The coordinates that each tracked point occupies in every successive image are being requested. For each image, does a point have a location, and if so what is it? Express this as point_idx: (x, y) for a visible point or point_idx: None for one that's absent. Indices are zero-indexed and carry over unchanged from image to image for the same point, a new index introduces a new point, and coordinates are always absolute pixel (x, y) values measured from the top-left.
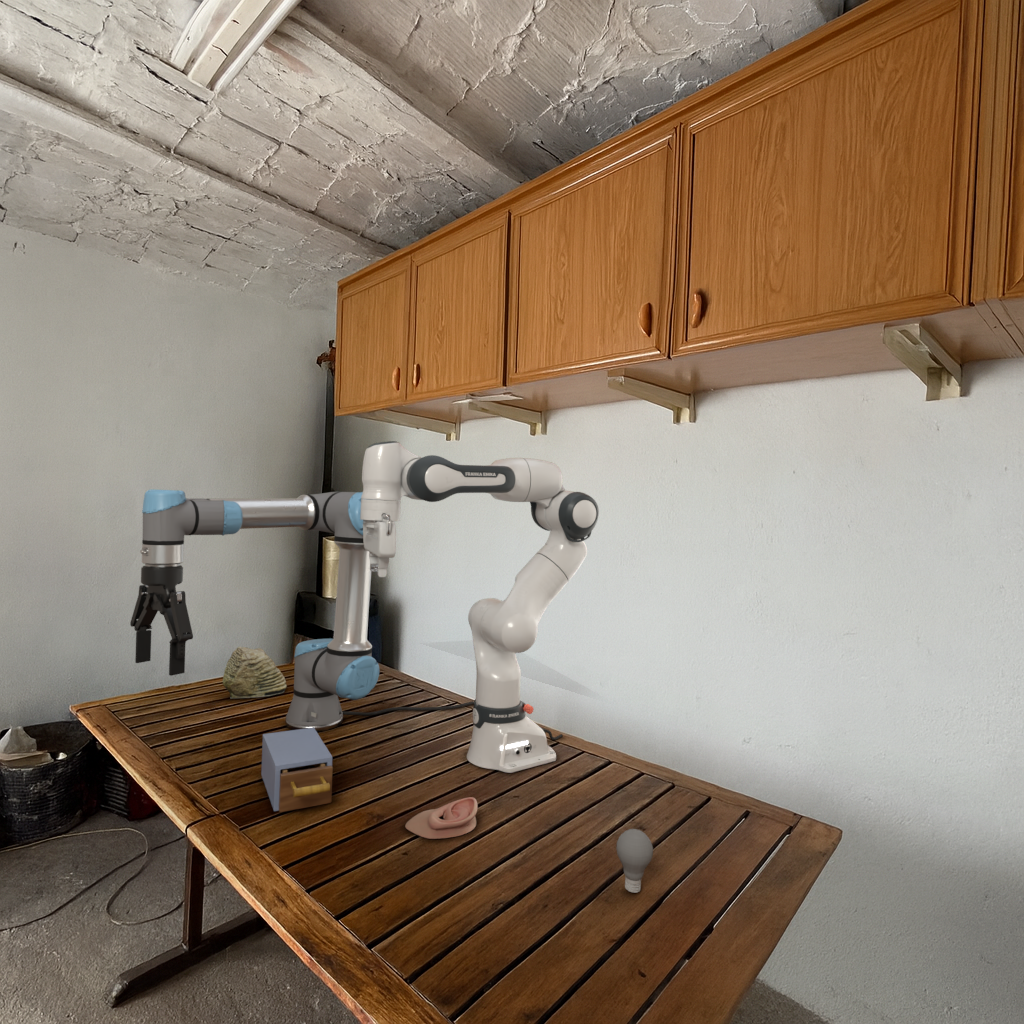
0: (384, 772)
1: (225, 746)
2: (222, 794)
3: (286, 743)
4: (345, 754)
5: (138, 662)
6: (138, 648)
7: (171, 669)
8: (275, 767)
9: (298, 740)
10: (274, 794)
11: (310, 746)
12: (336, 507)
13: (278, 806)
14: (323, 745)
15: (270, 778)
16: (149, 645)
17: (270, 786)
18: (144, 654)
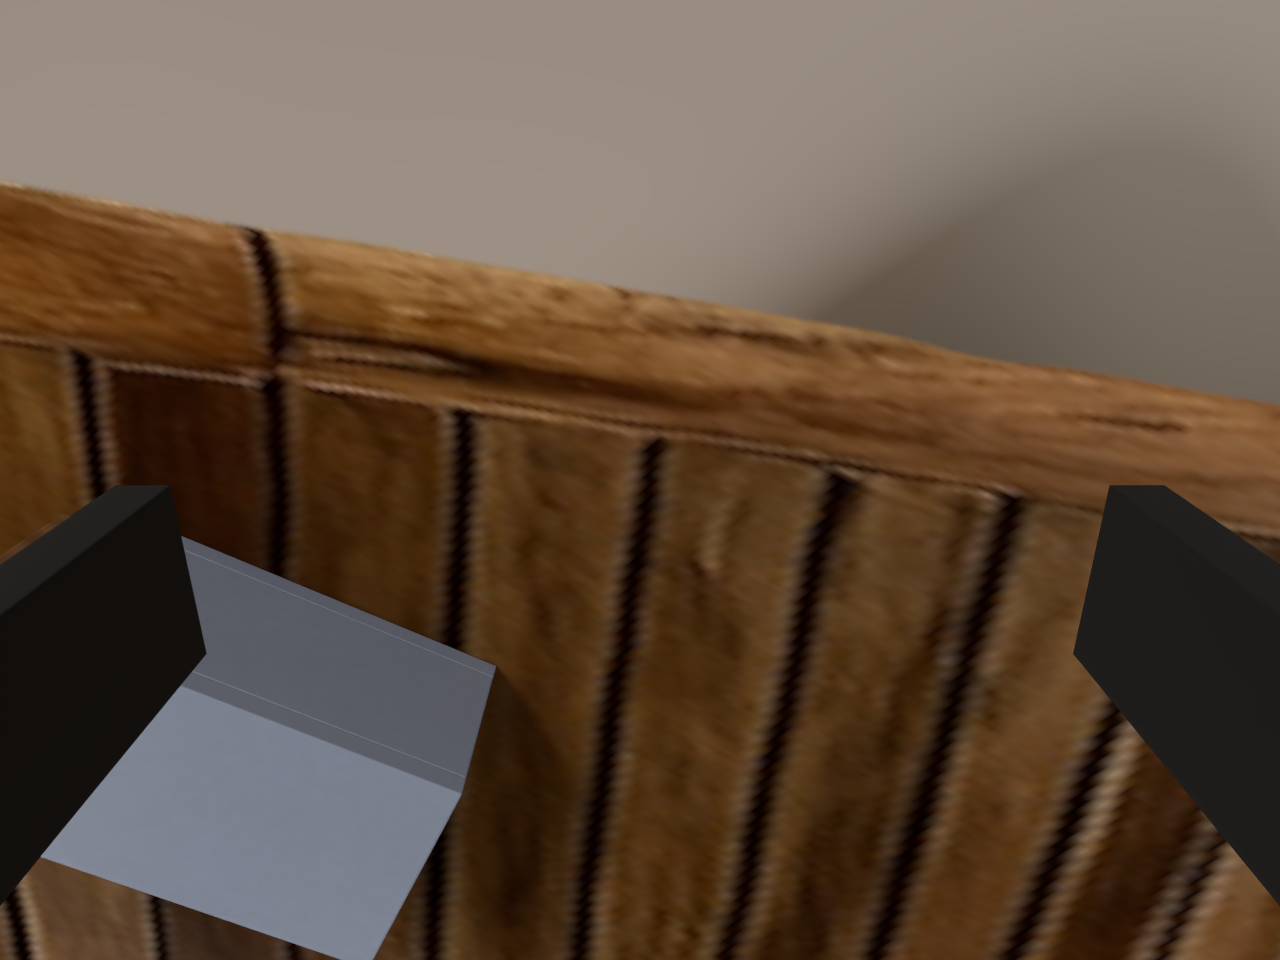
0: (177, 932)
1: (893, 728)
2: (439, 473)
3: (258, 796)
4: (426, 945)
5: (1108, 506)
6: (1252, 613)
7: (67, 529)
8: None
9: (255, 846)
10: None
11: (142, 838)
12: None
13: None
14: (116, 877)
15: (213, 612)
16: (1213, 797)
17: (220, 591)
18: (1146, 637)
